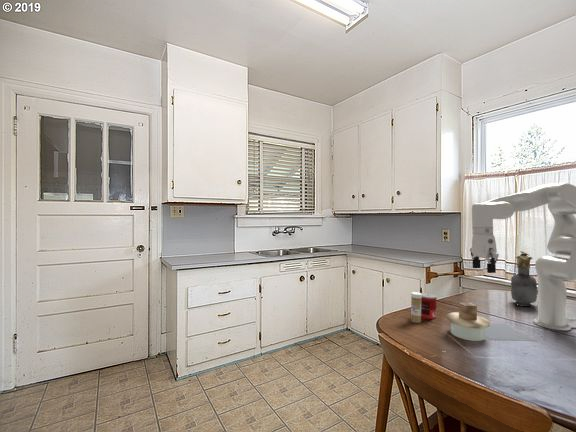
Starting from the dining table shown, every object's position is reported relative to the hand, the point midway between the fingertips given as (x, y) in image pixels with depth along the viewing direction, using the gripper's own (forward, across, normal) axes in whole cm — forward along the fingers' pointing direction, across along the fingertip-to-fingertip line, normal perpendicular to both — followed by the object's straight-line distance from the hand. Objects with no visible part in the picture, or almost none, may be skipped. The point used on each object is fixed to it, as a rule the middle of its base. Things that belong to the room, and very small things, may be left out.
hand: (483, 270), depth 125 cm
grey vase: (+28, +36, -45) cm, 65 cm away
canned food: (+26, +15, +18) cm, 35 cm away
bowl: (+26, -6, +12) cm, 29 cm away
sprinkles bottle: (+25, +9, +26) cm, 38 cm away
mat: (+26, -3, -3) cm, 27 cm away
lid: (+20, -6, +11) cm, 24 cm away
